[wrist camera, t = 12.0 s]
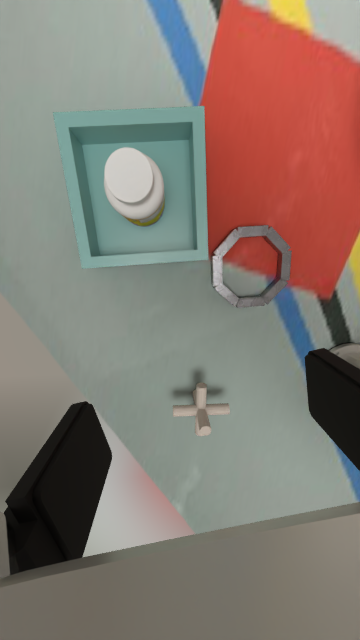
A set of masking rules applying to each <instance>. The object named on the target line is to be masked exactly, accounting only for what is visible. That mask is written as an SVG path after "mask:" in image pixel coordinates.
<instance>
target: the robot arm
mask: <svg viewBox="0 0 360 640" xmlns="http://www.w3.org/2000/svg"><path fill="white" fill-rule="evenodd" d="M305 367H306V380H307V392H308V404H309V411H310V413H311V415H312V417H313V418H314V419H315V421H316V422H317V423H318V424H319V425H320V426H321V427H322V429H323V430H324V431H325V432H326V433H327V434H328V435H329V437H330V438H331V439H332V440H333V441H334V442H335V443H336V445H337V446H338V447H339V448H340V449H341V450H342V451H343V453H344V454H345V455H346V456H347V457H348V458H349V459H350V461H351V462H352V463H353V464H354V465H355V466H356V467H357V469H358V470H359V471H360V345H359V344H354V343H348V344H342V345H339V346H337V347H334V348H333V349H331V350H327V349H325V348H322V349H317V350H313V351H309V353H308V355H307V356H305ZM111 460H112V453H111V450H110V447H109V445H108V442H107V439H106V437H105V434H104V432H103V430H102V427H101V425H100V422H99V420H98V417H97V415H96V412H95V410H94V407H93V405H92V404H89V403H88V402H86V401H85V402H80V403H76V404H73V405H71V406H70V408H69V409H68V411H67V412H66V414H65V415H64V417H63V418H62V419H61V421H60V422H59V424H58V425H57V427H56V428H55V430H54V431H53V433H52V434H51V435H50V437H49V439H48V440H47V441H46V443H45V444H44V446H43V447H42V449H41V450H40V451H39V453H38V455H37V456H36V457H35V459H34V460H33V462H32V463H31V465H30V466H29V468H28V469H27V470H26V472H25V473H24V475H23V476H22V478H21V479H20V481H19V482H18V483H17V485H16V487H15V488H14V489H13V491H12V492H11V494H10V495H9V497H8V498H7V499H6V501H5V502H6V503H7V505H8V508H7V509H6V510H5V512H4V513H2V512H0V640H360V502H357V503H352V504H347V505H342V506H337V507H332V508H326V509H321V510H316V511H311V512H306V513H300V514H295V515H290V516H285V517H280V518H275V519H270V520H265V521H260V522H255V523H250V524H245V525H240V526H235V527H230V528H225V529H220V530H215V531H210V532H205V533H200V534H195V535H190V536H185V537H180V538H175V539H170V540H165V541H160V542H156V543H151V544H146V545H141V546H136V547H131V548H127V549H122V550H117V551H112V552H108V553H102V554H98V555H93V556H88V557H83V558H82V556H83V553H84V550H85V547H86V543H87V540H88V536H89V533H90V530H91V527H92V523H93V520H94V517H95V513H96V510H97V507H98V503H99V500H100V497H101V494H102V490H103V487H104V484H105V480H106V477H107V474H108V470H109V467H110V464H111Z"/></svg>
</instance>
